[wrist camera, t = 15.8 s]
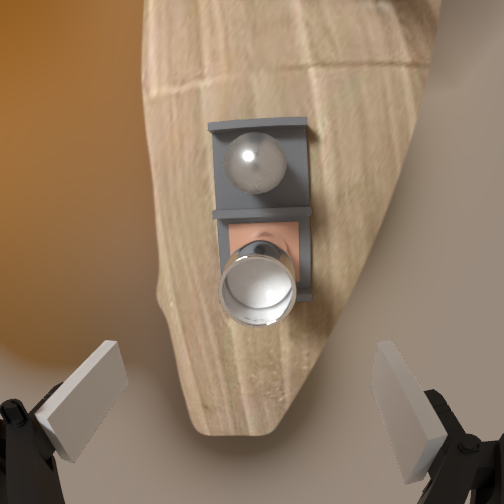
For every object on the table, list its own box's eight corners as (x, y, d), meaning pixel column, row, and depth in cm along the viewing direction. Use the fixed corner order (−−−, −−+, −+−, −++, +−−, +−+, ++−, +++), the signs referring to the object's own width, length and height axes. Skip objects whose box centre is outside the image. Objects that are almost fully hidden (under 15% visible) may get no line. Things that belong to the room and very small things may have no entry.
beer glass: (226, 252, 40) (198, 291, 25) (264, 214, 39) (256, 234, 24) (264, 288, 41) (257, 344, 26) (302, 253, 39) (316, 293, 25)
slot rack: (213, 127, 38) (207, 122, 34) (304, 122, 36) (306, 117, 33) (223, 294, 42) (219, 303, 39) (309, 292, 41) (312, 301, 38)
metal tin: (227, 167, 38) (210, 162, 28) (261, 135, 37) (256, 119, 27) (259, 201, 38) (253, 207, 29) (294, 169, 37) (299, 165, 27)
